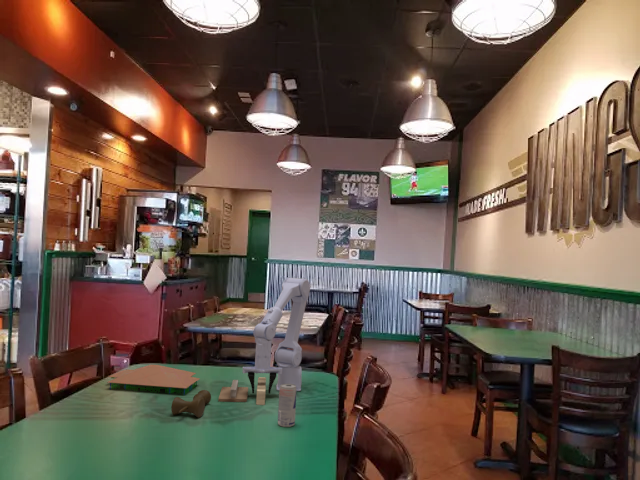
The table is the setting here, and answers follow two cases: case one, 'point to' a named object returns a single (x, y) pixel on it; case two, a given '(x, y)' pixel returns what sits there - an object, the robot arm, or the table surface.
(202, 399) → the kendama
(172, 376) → the brown flat slab
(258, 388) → the maple bar
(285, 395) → the energy drink
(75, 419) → the table surface
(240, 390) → the ridge stand
